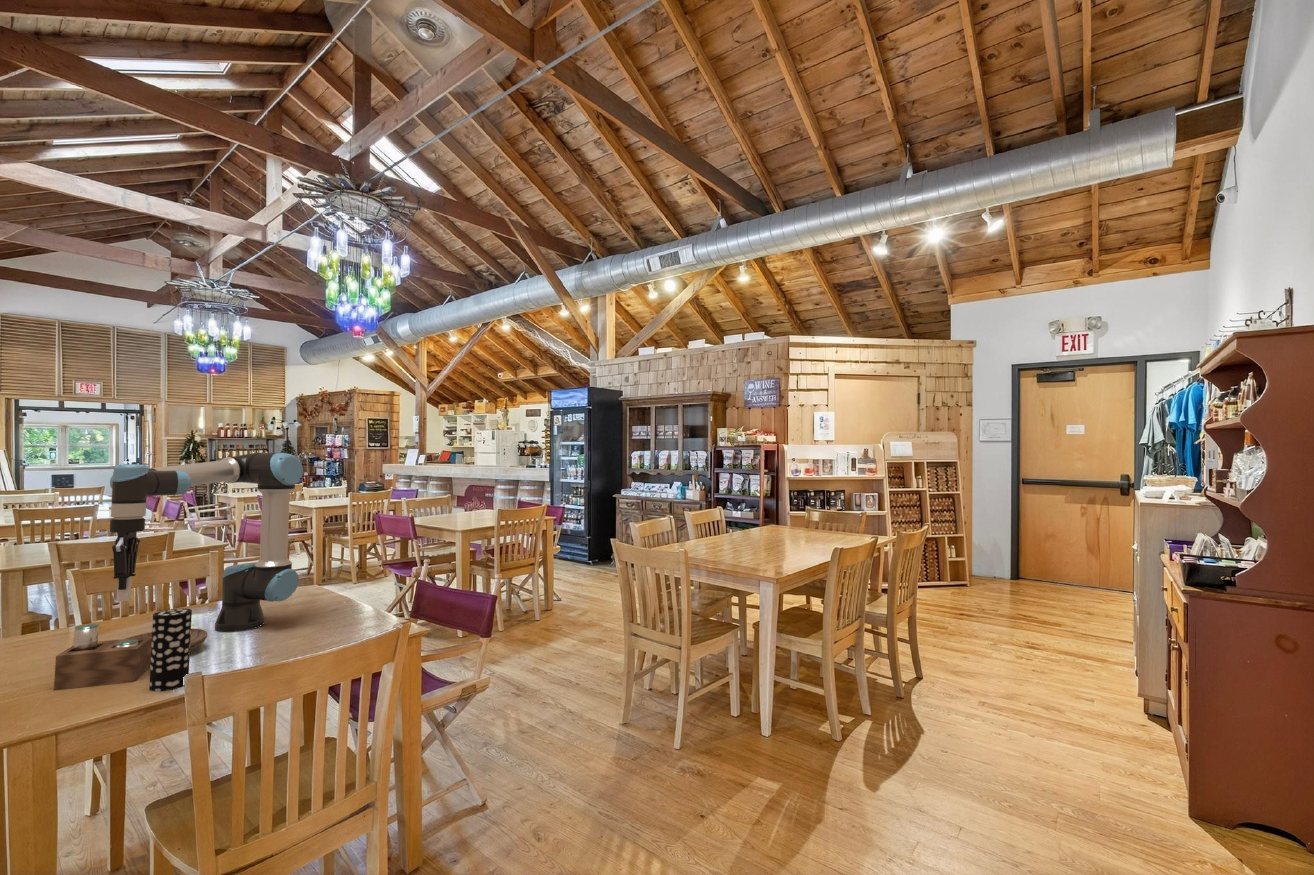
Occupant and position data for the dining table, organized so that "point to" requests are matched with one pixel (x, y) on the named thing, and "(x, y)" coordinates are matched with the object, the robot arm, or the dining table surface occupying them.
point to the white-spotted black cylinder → (170, 649)
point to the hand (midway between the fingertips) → (123, 600)
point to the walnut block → (102, 664)
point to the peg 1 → (86, 637)
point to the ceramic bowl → (195, 640)
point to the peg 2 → (127, 643)
